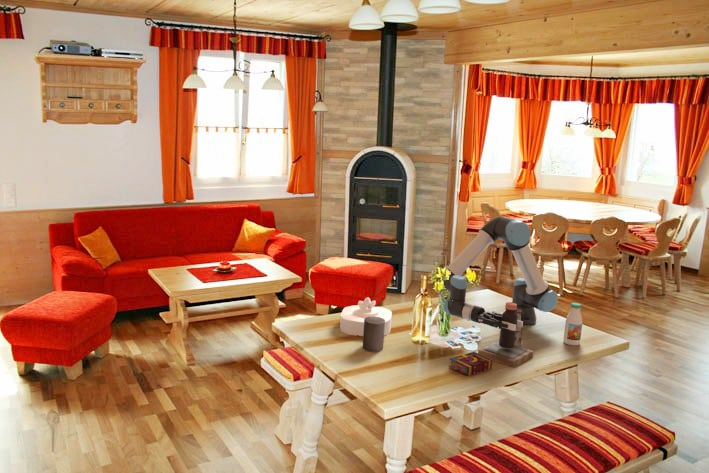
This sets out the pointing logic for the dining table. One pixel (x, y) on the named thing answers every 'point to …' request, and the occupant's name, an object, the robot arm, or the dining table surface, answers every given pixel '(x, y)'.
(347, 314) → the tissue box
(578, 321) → the milk bottle
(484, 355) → the brown flat square board
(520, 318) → the coffee box
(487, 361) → the decorative book
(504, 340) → the vinegar
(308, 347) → the dining table surface
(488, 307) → the dining table surface
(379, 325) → the pillar candle
